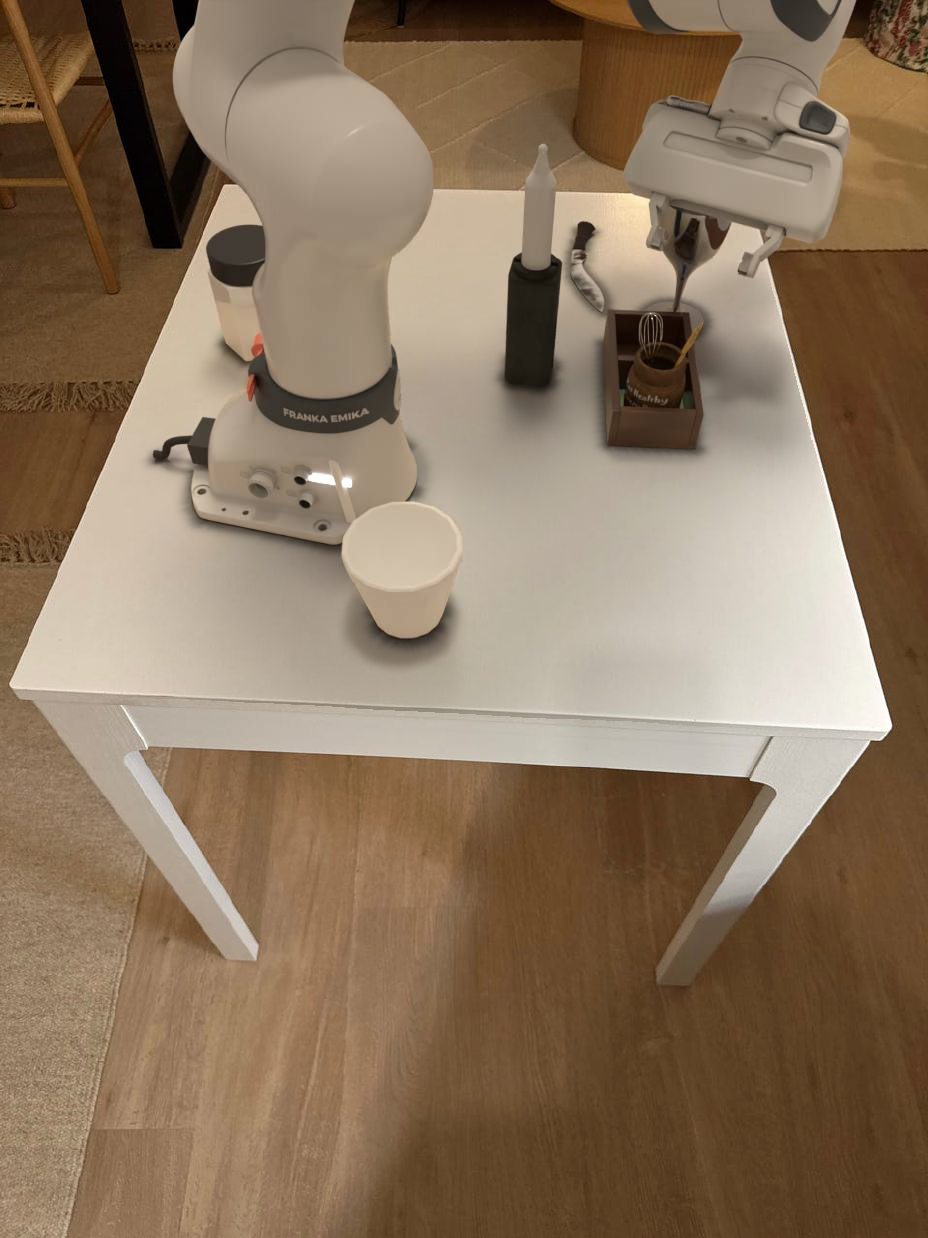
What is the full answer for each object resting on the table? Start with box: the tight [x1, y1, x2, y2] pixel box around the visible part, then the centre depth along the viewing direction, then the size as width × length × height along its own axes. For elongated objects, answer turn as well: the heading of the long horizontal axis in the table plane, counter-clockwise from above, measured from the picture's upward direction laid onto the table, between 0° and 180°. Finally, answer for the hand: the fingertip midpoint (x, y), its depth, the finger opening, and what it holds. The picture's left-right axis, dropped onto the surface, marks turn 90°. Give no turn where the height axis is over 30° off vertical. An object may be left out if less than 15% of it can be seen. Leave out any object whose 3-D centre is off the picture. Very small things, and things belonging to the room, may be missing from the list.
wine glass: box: [645, 205, 733, 333], centre depth 101 cm, size 8×8×15 cm
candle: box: [503, 143, 563, 388], centre depth 91 cm, size 5×5×25 cm
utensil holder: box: [623, 312, 704, 408], centre depth 91 cm, size 6×6×12 cm
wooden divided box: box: [602, 308, 705, 450], centre depth 97 cm, size 9×17×5 cm, turn 176°
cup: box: [341, 501, 464, 640], centre depth 77 cm, size 10×10×9 cm
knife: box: [570, 220, 605, 313], centre depth 113 cm, size 18×1×5 cm
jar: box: [205, 223, 265, 362], centre depth 100 cm, size 9×8×12 cm
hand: (698, 261), depth 87 cm, fingers open, 8 cm apart
